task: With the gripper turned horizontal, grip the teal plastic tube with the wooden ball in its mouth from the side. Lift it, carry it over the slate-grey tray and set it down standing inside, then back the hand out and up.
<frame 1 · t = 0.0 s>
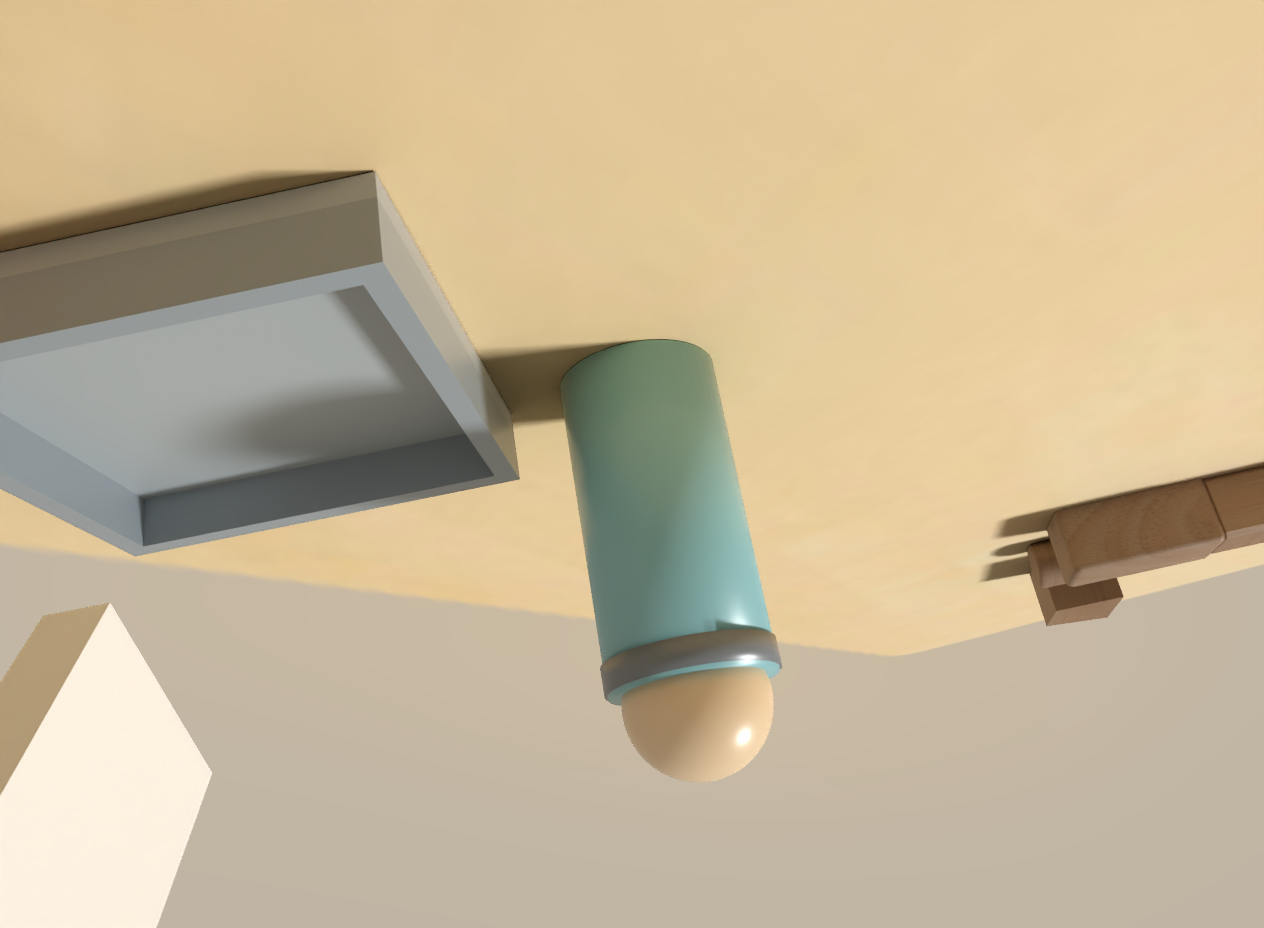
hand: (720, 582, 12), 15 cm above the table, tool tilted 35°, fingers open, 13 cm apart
wooden block set: (1153, 511, 74), on the table
ball tube: (636, 379, 41), on the table
tray: (229, 366, 35), on the table
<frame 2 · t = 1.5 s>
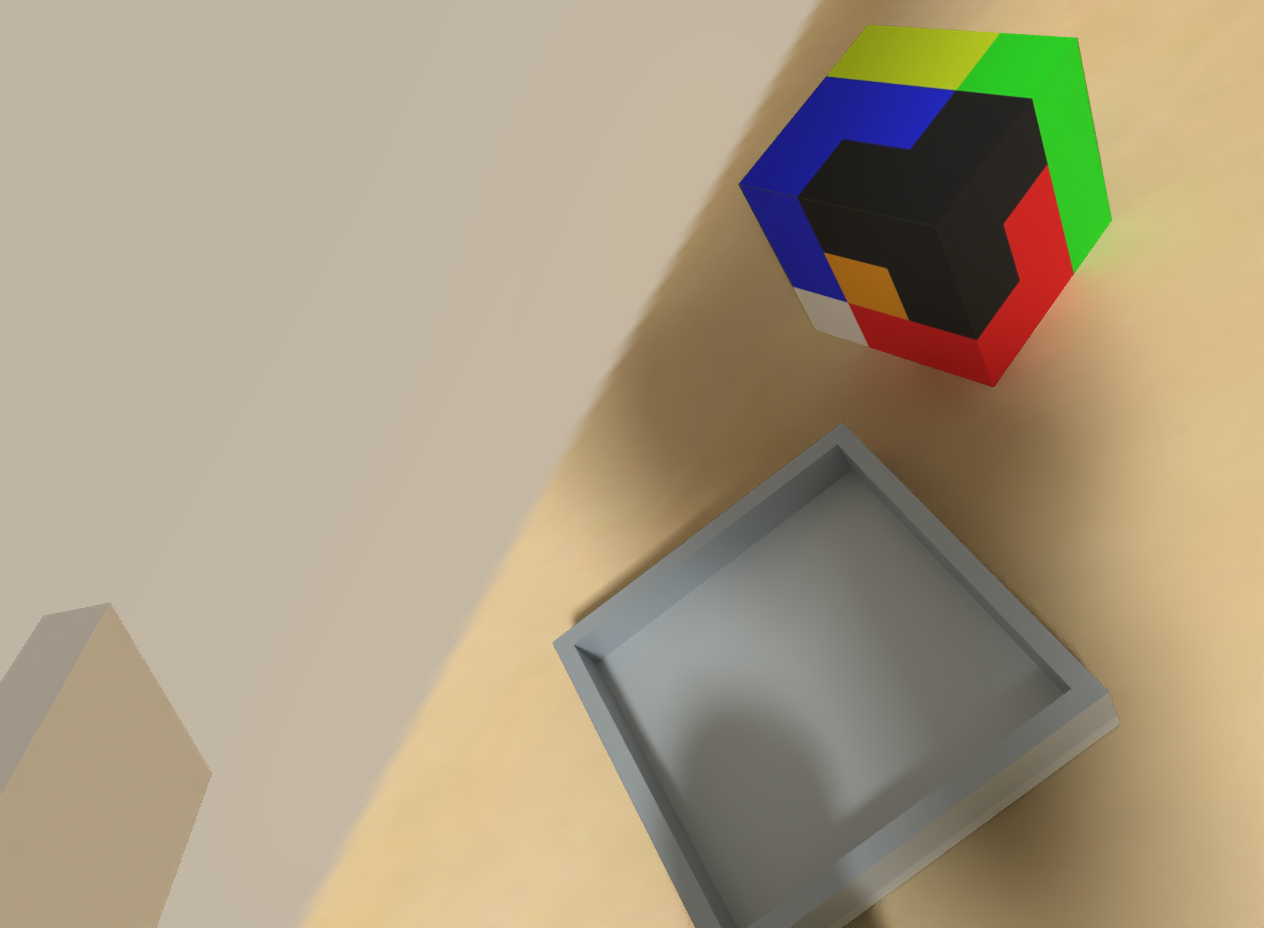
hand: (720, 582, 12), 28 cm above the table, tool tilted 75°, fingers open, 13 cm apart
puzzle toy: (957, 281, 50), on the table
tray: (814, 692, 41), on the table
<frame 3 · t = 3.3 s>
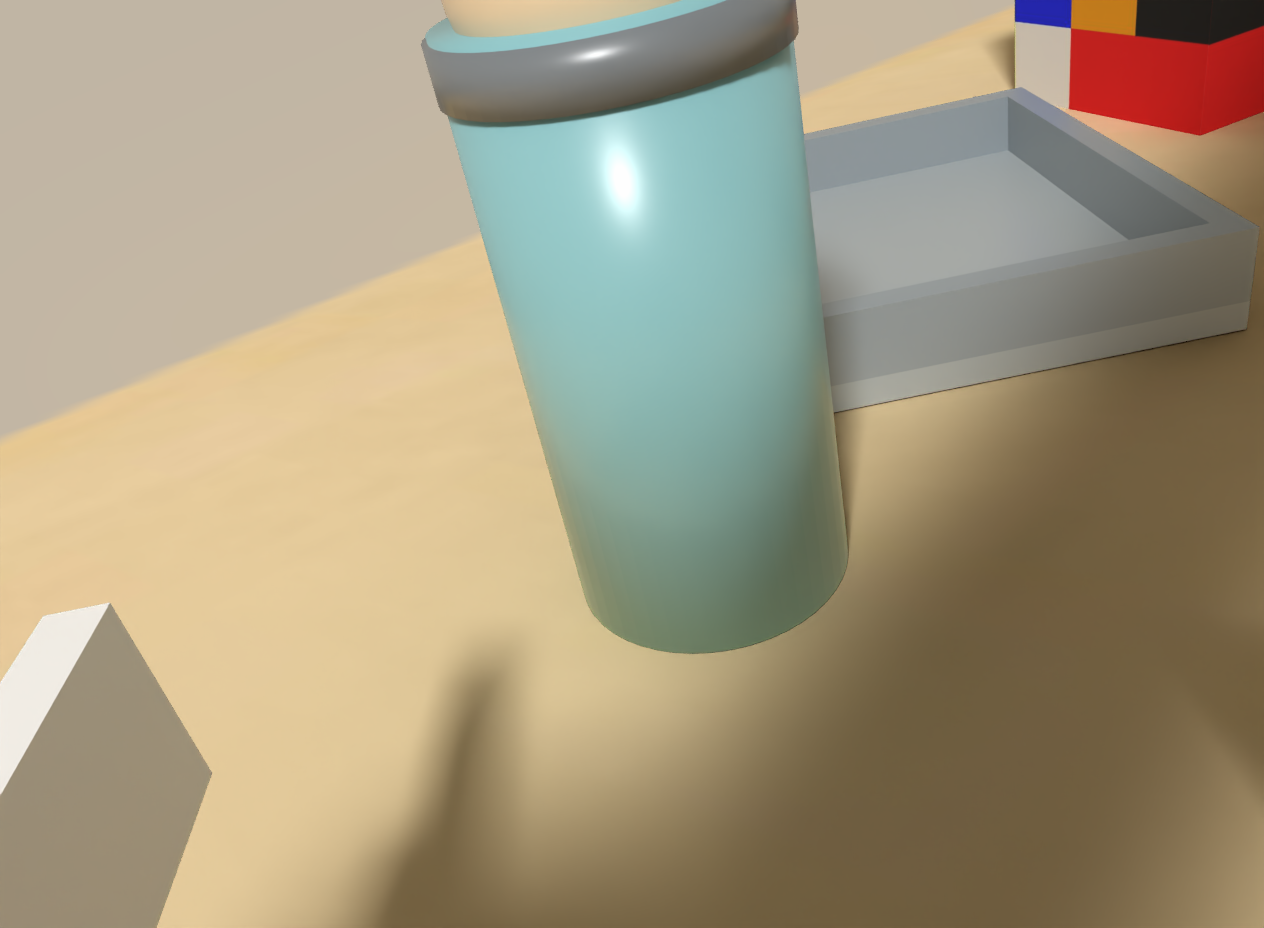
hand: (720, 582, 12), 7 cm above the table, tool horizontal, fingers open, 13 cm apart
puzzle toy: (1191, 87, 45), on the table
ball tube: (712, 559, 24), on the table
tray: (873, 278, 34), on the table
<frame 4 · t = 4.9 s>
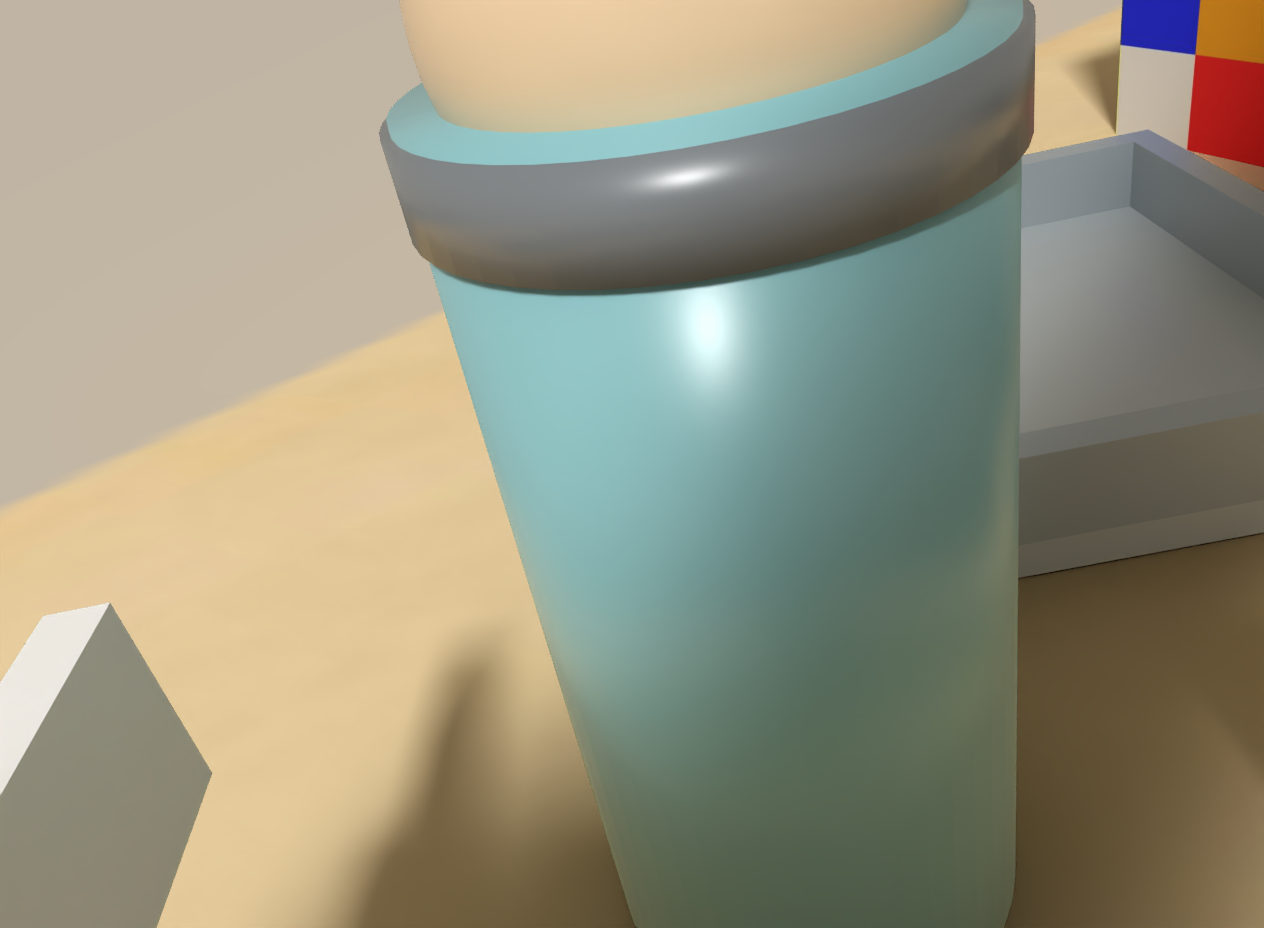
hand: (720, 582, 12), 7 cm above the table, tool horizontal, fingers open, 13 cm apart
ball tube: (811, 844, 16), on the table
tray: (979, 377, 27), on the table
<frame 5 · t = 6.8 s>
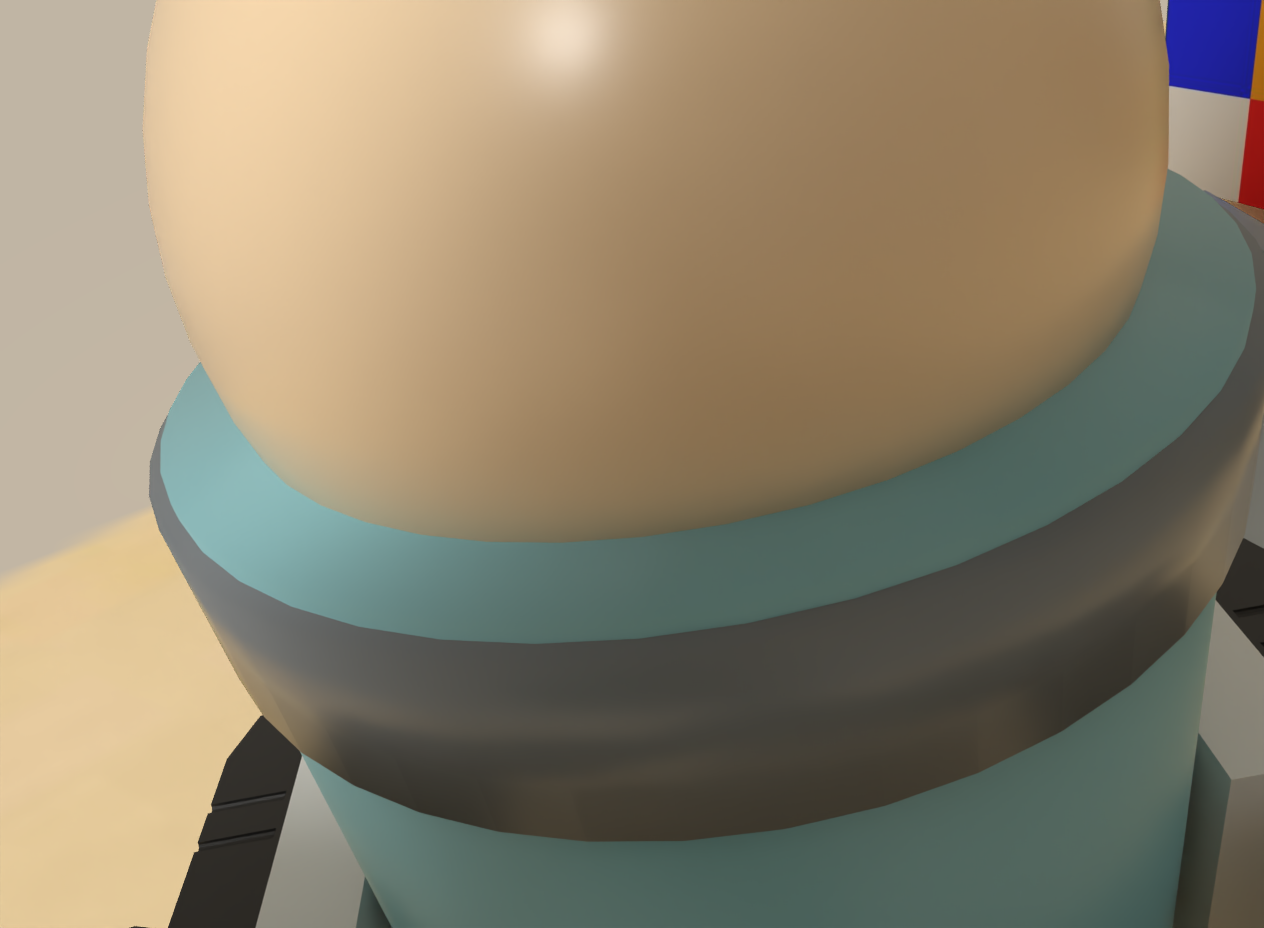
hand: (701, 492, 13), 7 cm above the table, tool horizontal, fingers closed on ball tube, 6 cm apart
tray: (1023, 493, 23), on the table
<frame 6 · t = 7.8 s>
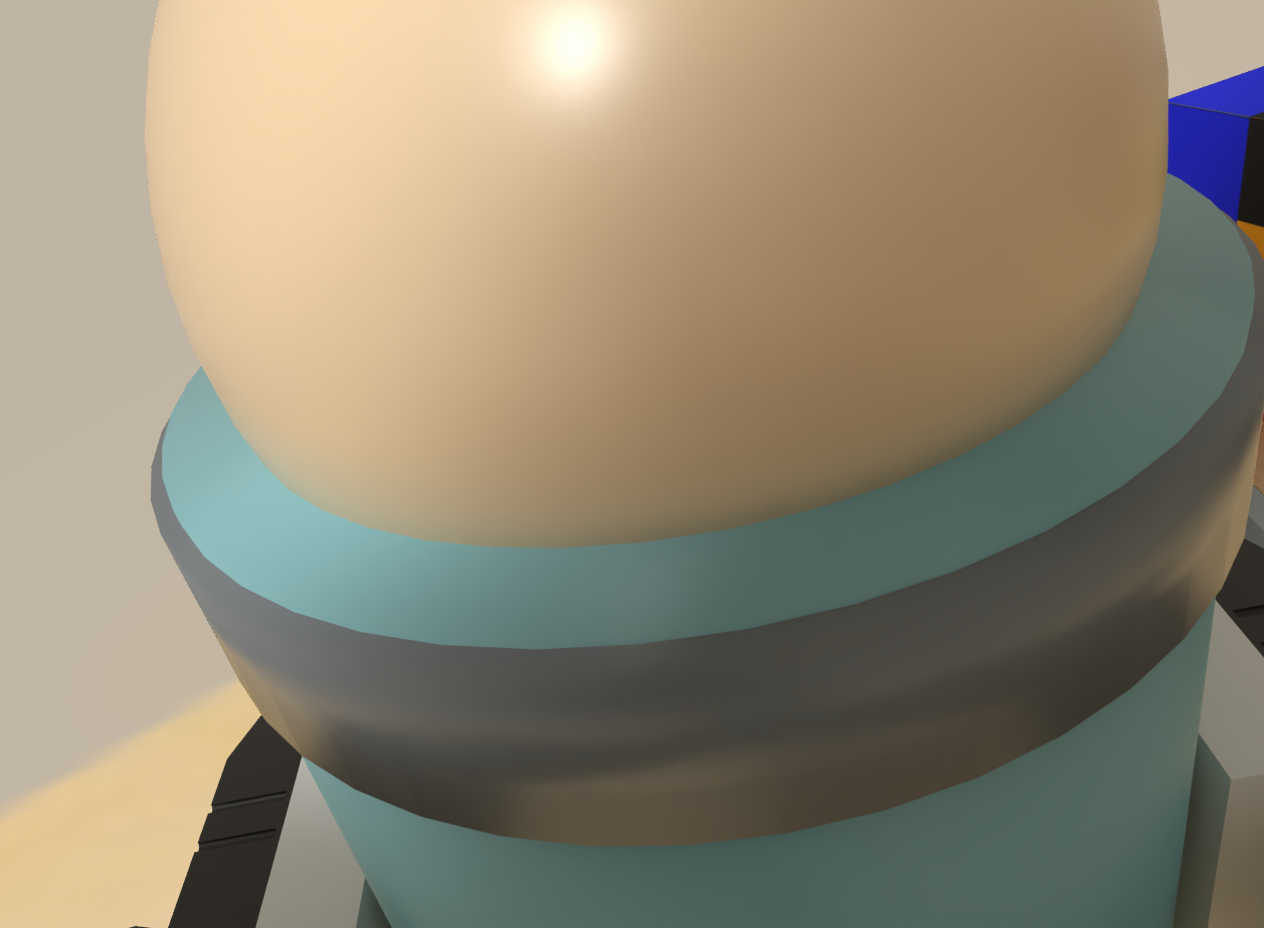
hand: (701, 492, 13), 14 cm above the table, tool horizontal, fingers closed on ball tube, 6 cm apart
tray: (1022, 716, 27), on the table
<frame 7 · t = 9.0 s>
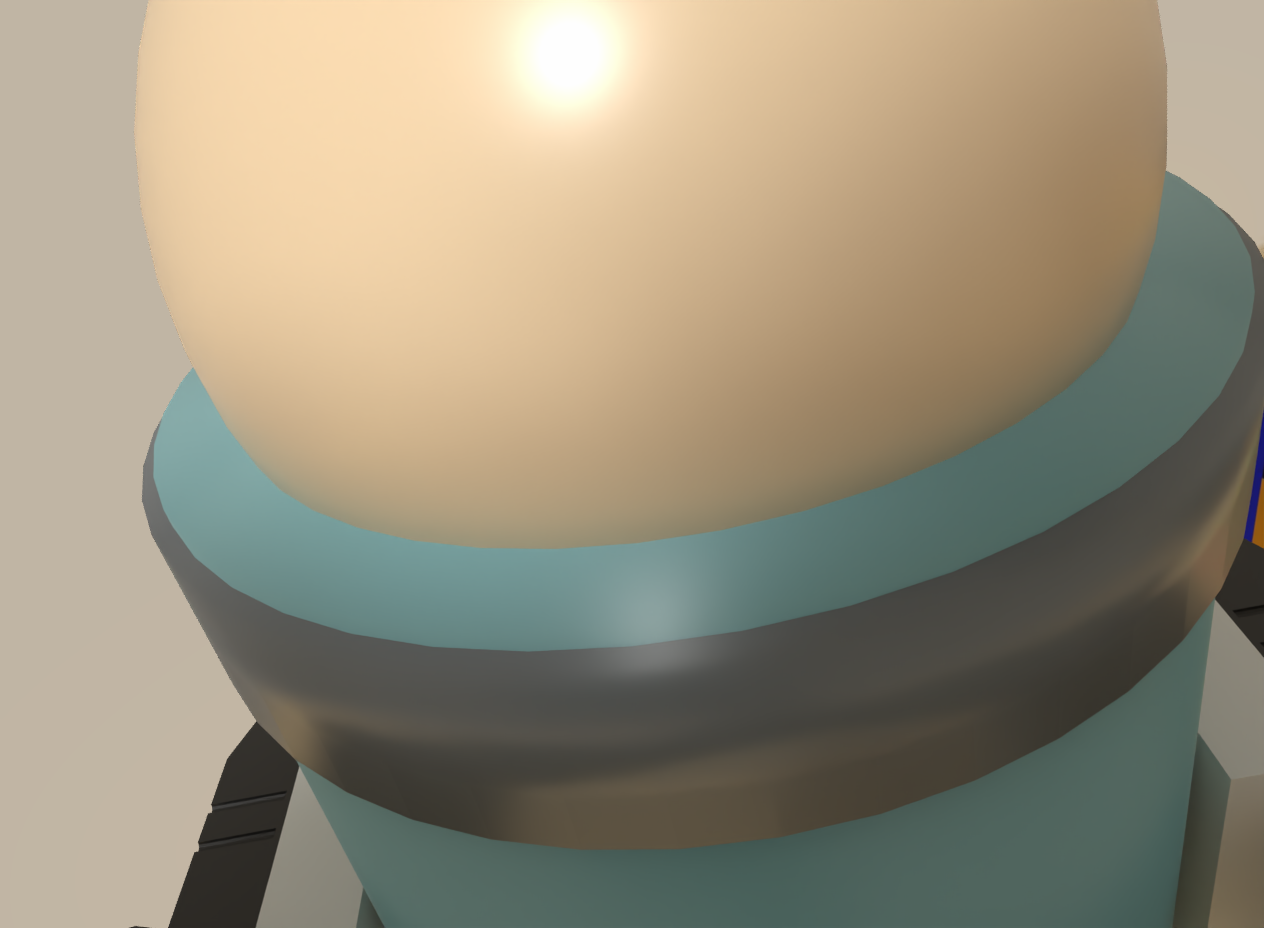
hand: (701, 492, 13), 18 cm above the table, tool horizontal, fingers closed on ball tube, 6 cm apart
when the fingers open (9 cm above the table, at t = 11.6 s): ball tube drops 1 cm, resting on tray.
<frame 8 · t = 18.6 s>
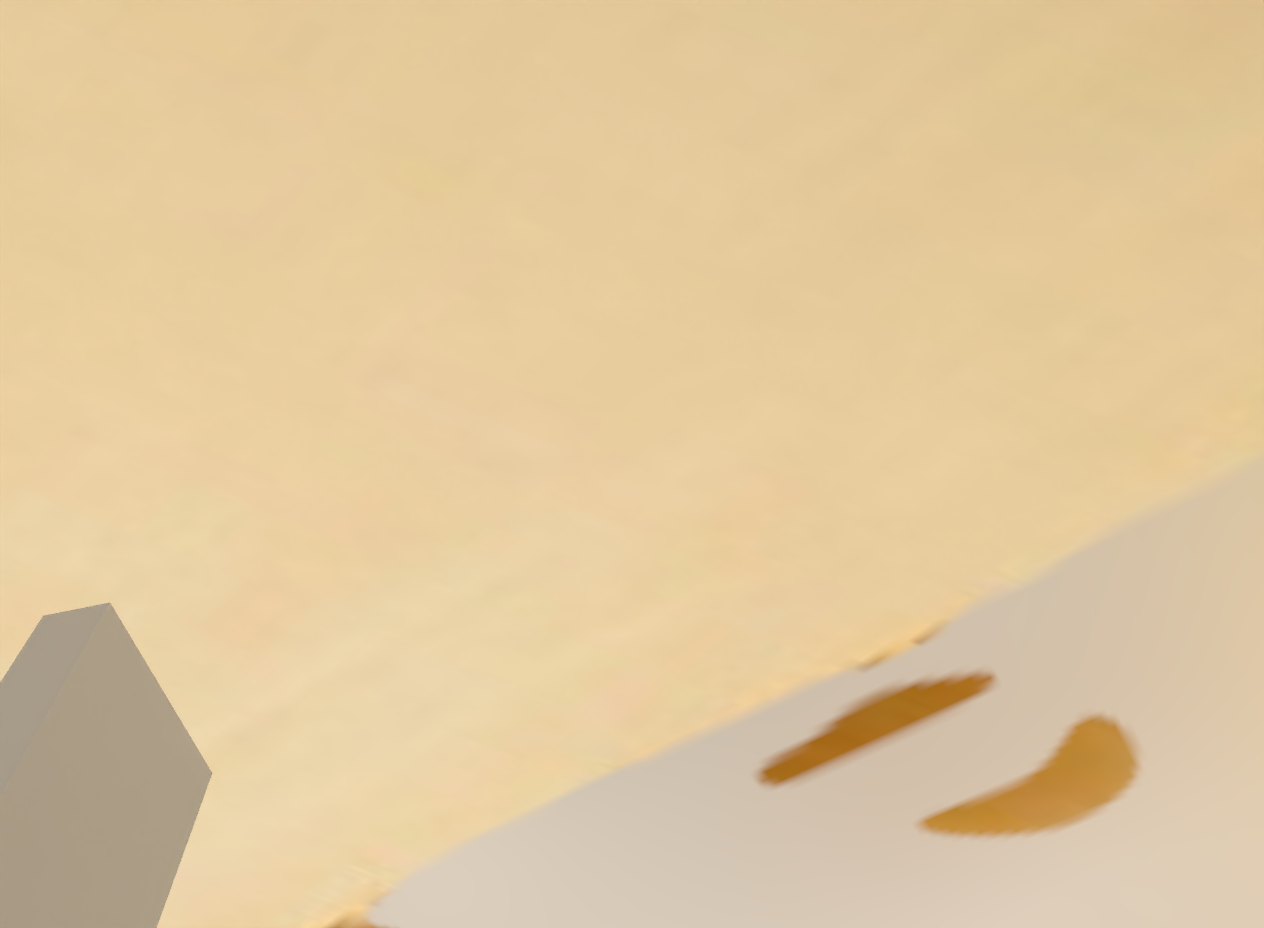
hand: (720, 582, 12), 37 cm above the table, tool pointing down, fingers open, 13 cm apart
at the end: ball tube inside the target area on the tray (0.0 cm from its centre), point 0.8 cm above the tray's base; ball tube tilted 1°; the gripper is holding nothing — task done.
